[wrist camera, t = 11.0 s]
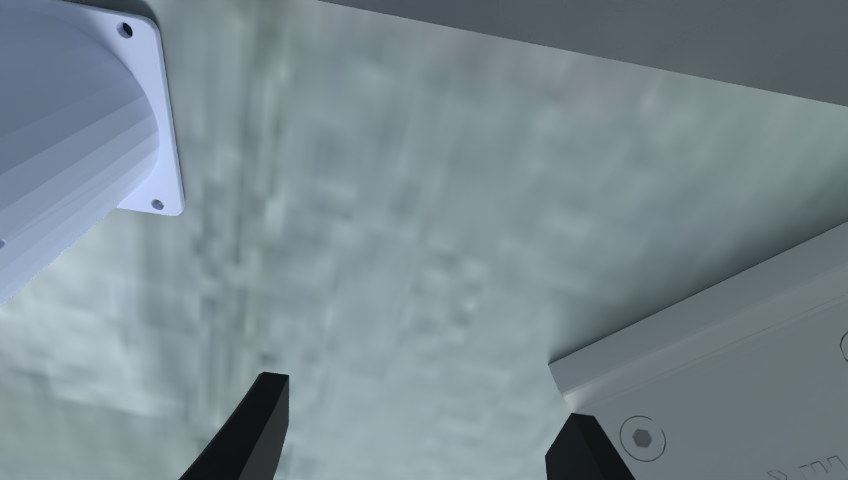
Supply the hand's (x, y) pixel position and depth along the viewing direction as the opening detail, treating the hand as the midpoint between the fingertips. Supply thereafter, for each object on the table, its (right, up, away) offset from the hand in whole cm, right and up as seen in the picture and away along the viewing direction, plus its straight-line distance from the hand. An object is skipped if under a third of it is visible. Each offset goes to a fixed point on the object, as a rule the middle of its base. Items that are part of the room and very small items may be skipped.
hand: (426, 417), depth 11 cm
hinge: (+16, -1, +14) cm, 21 cm away
